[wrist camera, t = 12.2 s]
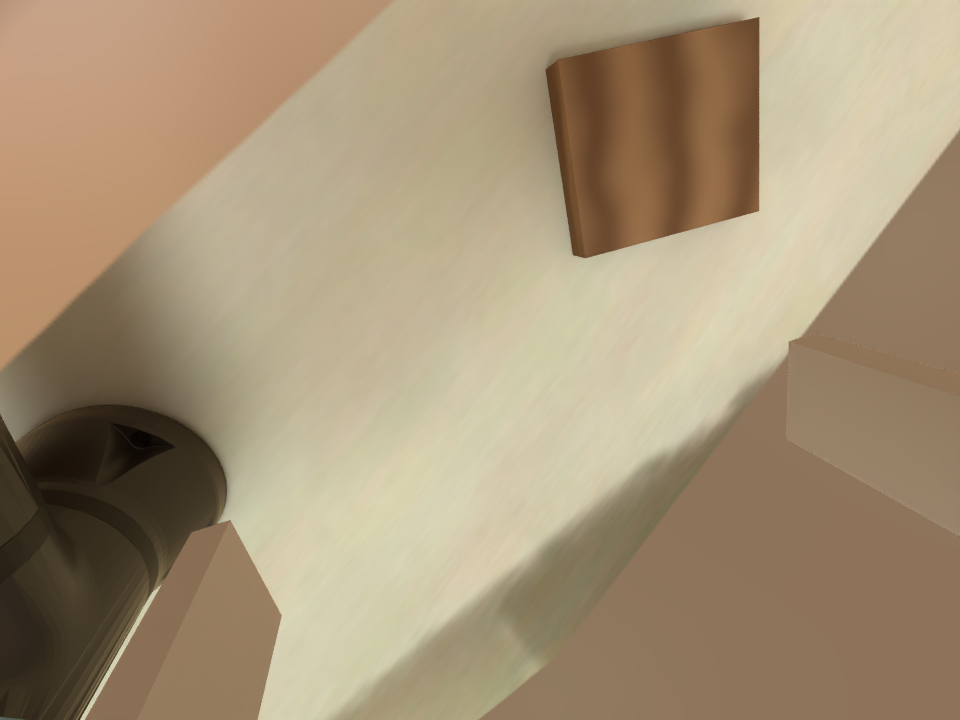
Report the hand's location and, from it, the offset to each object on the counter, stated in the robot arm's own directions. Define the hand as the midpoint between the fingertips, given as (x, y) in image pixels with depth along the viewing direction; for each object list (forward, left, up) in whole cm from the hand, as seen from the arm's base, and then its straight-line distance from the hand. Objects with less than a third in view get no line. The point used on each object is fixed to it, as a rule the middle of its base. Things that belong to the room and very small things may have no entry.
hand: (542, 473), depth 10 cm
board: (+21, +6, -29) cm, 36 cm away
